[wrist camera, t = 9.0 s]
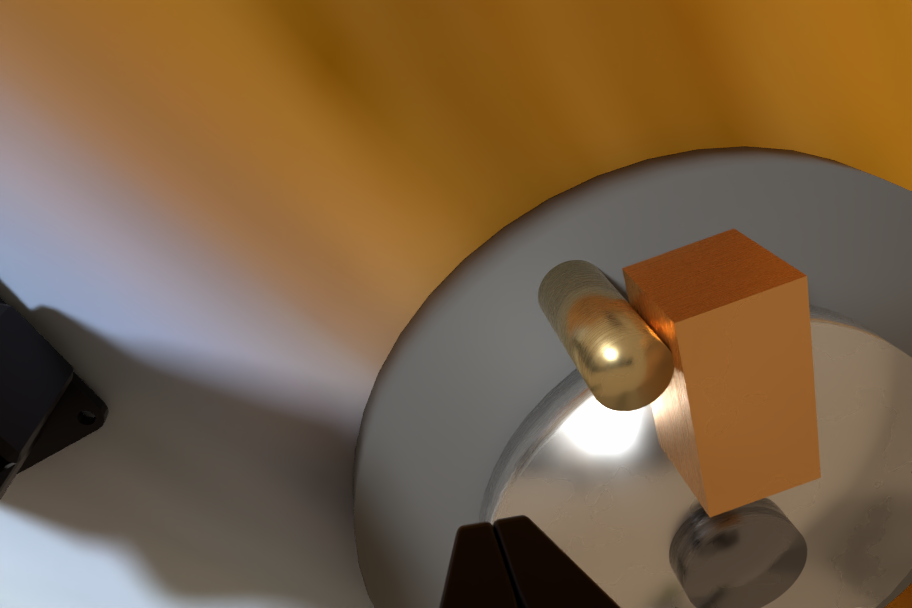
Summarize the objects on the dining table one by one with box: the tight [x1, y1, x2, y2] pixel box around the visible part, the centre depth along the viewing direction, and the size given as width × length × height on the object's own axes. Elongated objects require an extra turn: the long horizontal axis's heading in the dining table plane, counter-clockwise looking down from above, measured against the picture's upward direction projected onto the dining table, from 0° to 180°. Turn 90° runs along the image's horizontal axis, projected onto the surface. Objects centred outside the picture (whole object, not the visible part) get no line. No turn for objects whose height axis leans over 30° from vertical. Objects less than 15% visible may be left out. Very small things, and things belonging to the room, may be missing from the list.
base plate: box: [353, 147, 912, 608], centre depth 25 cm, size 24×24×2 cm
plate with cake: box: [478, 228, 912, 608], centre depth 21 cm, size 19×16×5 cm
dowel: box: [538, 260, 674, 412], centre depth 18 cm, size 2×2×4 cm
